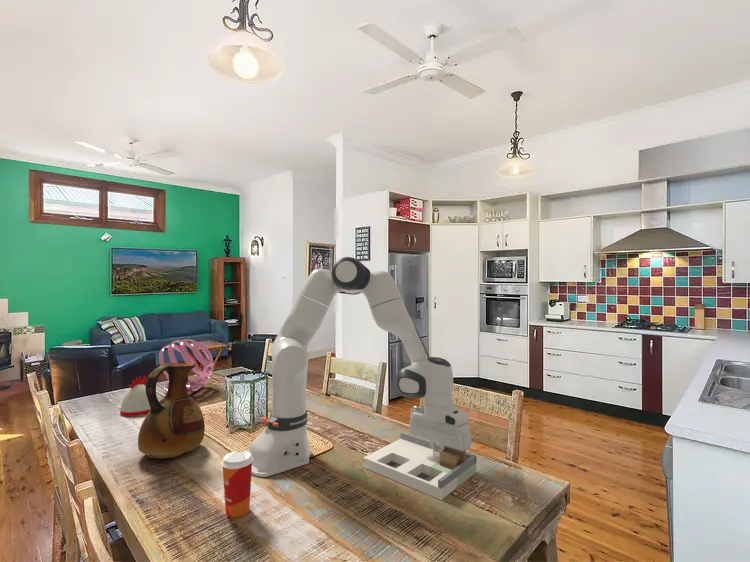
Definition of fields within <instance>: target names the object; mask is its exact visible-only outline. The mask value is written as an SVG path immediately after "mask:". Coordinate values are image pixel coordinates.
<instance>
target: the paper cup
mask: <svg viewBox="0 0 750 562" xmlns="http://www.w3.org/2000/svg"><path fill="white" fill-rule="evenodd" d="M252 462H253V457H252V455H251V453H250V452H249V450H244V451H243V450H240V451H239V450H238V451H236V450H235V451H232V452H229V453H226V454H225V455H224V456H223V457H222V461H221V463H220V465H221V467H222V475H223V476H222V479H223V491H224V492H223V493H224V495H223V496H224V506H225V515H226V516H227V517H228V518H230V519H237V518H238V519H239V518H241V517H244V516H246V515H247V514H248V513H249V511H250V502H251V492H252V491H251V490H252V489H251V488H252V487H251V485H252V474H251V472H252Z"/></svg>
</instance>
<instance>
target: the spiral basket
mask: <svg viewBox="0 0 750 562" xmlns="http://www.w3.org/2000/svg"><path fill="white" fill-rule="evenodd" d="M176 343H179V345H177V344H176ZM186 347H188V348H189V349H190V350H191V351H192V353H193V355H194V357H195V358H196V360H197V361H198V362H199V363H200V364H201V365H202V366H203V369H202V370H201V368H200V367H199V365H198V362H197V361H196V360H195V358H194V357H193V356H192V355H191V354H190V353H189V352H188V350H187V349H186ZM198 348H199V349H200V350H201V351H202V352H203V354H204V355H205V357H204V356H203V355H202V353H201V352H200V350H198ZM165 349H167V353H168V358H169V361H170V363H179V362H178V360H177V359H176V356H175V351H177V352H179V353H180V356H181V357H182V359H183V362H184V363H195V364H196V366H195V367H194V368H193V369H192V370H191V372H193V373H195V374H196V376H197V379H193V378H192V377H190V376H189V375H188V384H187V392H188V394H190V393H195V392H197V391H199V390H200V389H201V387H203V386H205V385H206V384H208V381H209V379H210V377H211V375H212V373H213V370H214V359H213V355H212V353H211V351H210V350H209V349H208V347H207V346H206V345H204V344H203V343H202V342H199V341H196V340H194V339H191V338H185V339H176V340H174V341H172V342H171V343H170V344H166V345H164V346H163V347H162V348H161V349H160V351H159V353H158V361H159V366H160V365H161V364H162V363H166V362H165V359H164V353H165V352H164V351H165ZM174 350H175V351H174ZM209 367H210V369H209ZM162 373H163V374H164V376H165V377H166V378H167V380H168V381H169V377H168V373H167V372H166V371H163V372H162ZM168 385H169V383H166V386H167V387H168ZM162 388H163V390H164V391H165V392H166V393H167V390H168V388H166V387H165V385H163V386H162Z"/></svg>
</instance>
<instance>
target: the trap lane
mask: <svg viewBox="0 0 750 562" xmlns="http://www.w3.org/2000/svg"><path fill="white" fill-rule="evenodd" d="M399 433H400V435H399V436H400V437H399V439H397V440H395V441H393V442H391V443H390V444H387V445H386V446H383V447H381V448H380V449H378V450H375V451H374V452H372V453H370V454H367V455H365V456H364V457H362V458H363V459H362V461H363V462H362V463H363V464H362V467H363V468H364V469H366V470H369V471H371V472H373V473H375V474H378V475H381V476H384V477H385V478H388V479H390V480H393V481H395V482H398V483H400V484H403V485H405V486H407V487H409V488H412V489H414V490H416V491H419V492H421V493H424V494H426V495H428V496H430V497H432V498H436V499H437V500H440V501H442V500H443V499H444V498H446V497H447V496H448V495H449V494H451V493H452V492H453V491H455V490H456V489H457V488H458V487H460V486H461V485H462V484H463V483H465V482H466V481H467V480H469V479H470V478H471V477H472V476H474V475H475V474H476V473H477V455H475V454H472V453H469V452H466V460H465V461H464V462H463V463H461V464H460V465H458V466H457V467H456V468H454V469H453V470H451V469H449V468H446V467H443V466H440V458H439V457H436V456H433V450H432V447H431V445H430V441H428V440H425V439H422V438H419V437H416V436H413V435H411V434H410V433H407V432H403V431H401V432H399ZM436 445H437V447H438V449H439V450H441V447H440V444H438V443H436Z"/></svg>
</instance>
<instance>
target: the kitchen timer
mask: <svg viewBox="0 0 750 562" xmlns="http://www.w3.org/2000/svg"><path fill="white" fill-rule="evenodd" d="M131 381H132V385H131V384H130V383H128V386H129V388H128V390H127V391H126V393H125V394H124V396H123V399H122V401H121V404H120V407H119V408H120V409H119V413H120V415H121V416H124V417H137V416H143V415H147V414H148V413H149V411H150V410H151V408H150V405H149V402H148V399H147V395H146V381H147V377H146V376H145V375H143V378H142V376H136V377H135V381H134V379H133V380H131Z"/></svg>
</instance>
